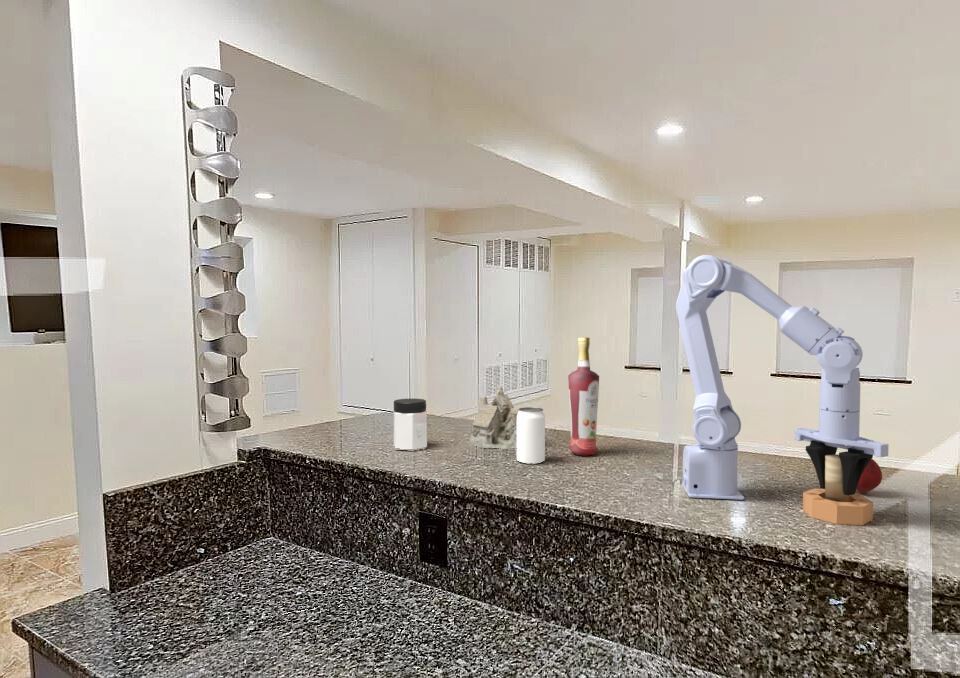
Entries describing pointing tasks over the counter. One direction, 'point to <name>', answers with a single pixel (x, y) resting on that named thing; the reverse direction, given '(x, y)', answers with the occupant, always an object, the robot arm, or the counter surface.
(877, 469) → the onion
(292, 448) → the counter surface
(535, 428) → the can
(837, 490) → the dowel
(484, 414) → the ceramic cottage
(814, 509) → the orange faceted ring
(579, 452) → the liquor
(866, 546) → the counter surface
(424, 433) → the jar
